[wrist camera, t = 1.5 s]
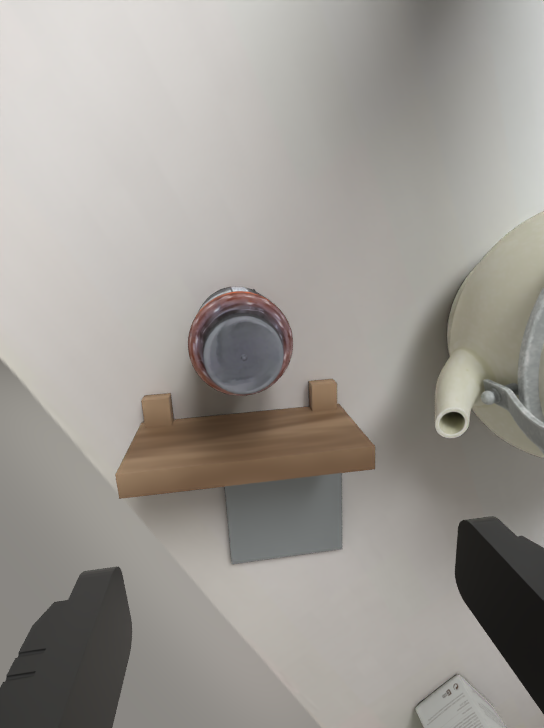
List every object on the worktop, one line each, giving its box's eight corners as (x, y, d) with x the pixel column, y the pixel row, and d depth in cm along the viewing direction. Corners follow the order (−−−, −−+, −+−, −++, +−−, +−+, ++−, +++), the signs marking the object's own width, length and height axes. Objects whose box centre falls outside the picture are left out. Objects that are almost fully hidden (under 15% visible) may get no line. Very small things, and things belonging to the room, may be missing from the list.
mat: (222, 457, 33) (222, 461, 32) (339, 445, 34) (341, 448, 33) (231, 559, 35) (231, 564, 34) (340, 544, 36) (342, 549, 36)
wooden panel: (137, 396, 30) (109, 440, 23) (338, 378, 32) (375, 414, 24) (148, 466, 32) (124, 530, 24) (339, 445, 34) (374, 498, 26)
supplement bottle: (286, 342, 31) (322, 385, 20) (218, 374, 31) (216, 435, 20) (255, 271, 29) (275, 275, 18) (182, 305, 29) (159, 330, 18)
